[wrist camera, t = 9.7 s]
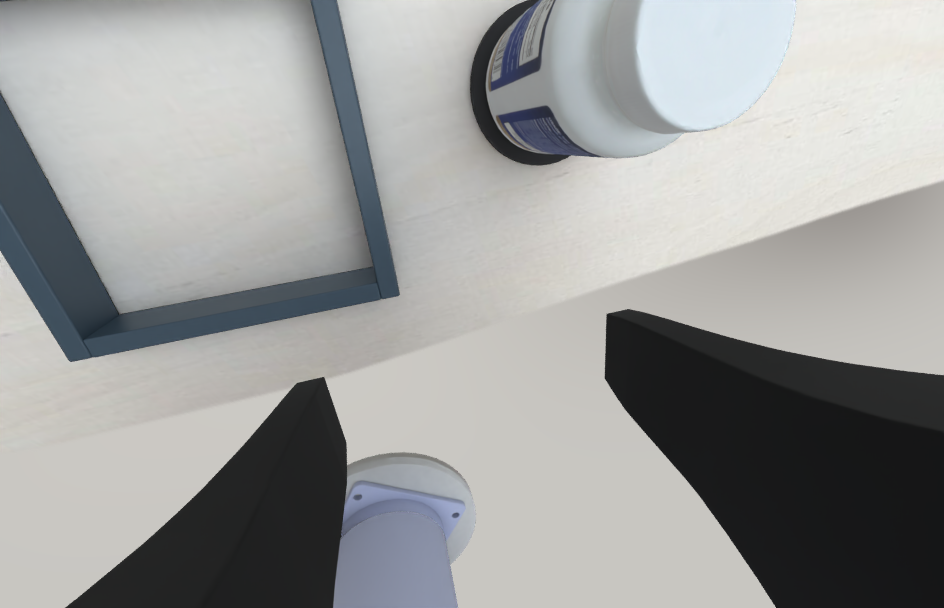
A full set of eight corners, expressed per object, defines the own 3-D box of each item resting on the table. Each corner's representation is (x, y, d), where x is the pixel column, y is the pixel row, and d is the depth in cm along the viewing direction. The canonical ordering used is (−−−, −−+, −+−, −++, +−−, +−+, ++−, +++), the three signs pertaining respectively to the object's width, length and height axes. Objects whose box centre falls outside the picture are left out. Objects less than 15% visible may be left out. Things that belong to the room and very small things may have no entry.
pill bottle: (610, 128, 19) (822, 116, 10) (505, 170, 18) (628, 198, 9) (585, -8, 16) (835, -182, 8) (465, 38, 16) (580, -89, 7)
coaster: (560, 188, 20) (564, 189, 19) (444, 121, 17) (446, 120, 17) (631, 57, 18) (637, 55, 18) (515, -37, 16) (518, -41, 15)
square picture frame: (396, 278, 19) (400, 296, 17) (108, 334, 17) (68, 363, 15) (326, -50, 14) (317, -86, 12) (-93, -24, 12) (-198, -62, 10)
